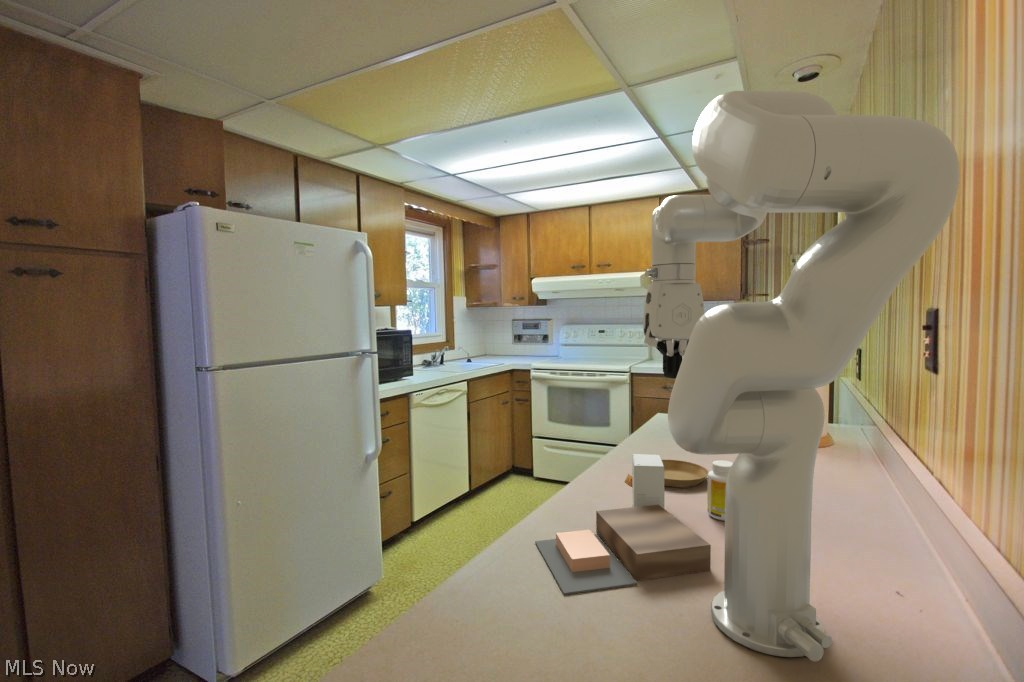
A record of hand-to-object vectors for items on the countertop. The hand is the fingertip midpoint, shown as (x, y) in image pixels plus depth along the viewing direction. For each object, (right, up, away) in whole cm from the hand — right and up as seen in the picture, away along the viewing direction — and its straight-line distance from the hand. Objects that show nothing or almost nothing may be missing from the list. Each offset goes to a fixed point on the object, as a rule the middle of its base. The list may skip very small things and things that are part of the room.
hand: (672, 377), depth 91 cm
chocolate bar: (-1, -27, +18) cm, 32 cm away
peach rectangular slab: (-18, -26, -11) cm, 33 cm away
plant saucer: (+9, -26, +25) cm, 37 cm away
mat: (-18, -28, -12) cm, 36 cm away
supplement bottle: (+11, -27, +4) cm, 29 cm away
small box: (-3, -27, +6) cm, 28 cm away
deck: (-7, -28, -9) cm, 30 cm away
